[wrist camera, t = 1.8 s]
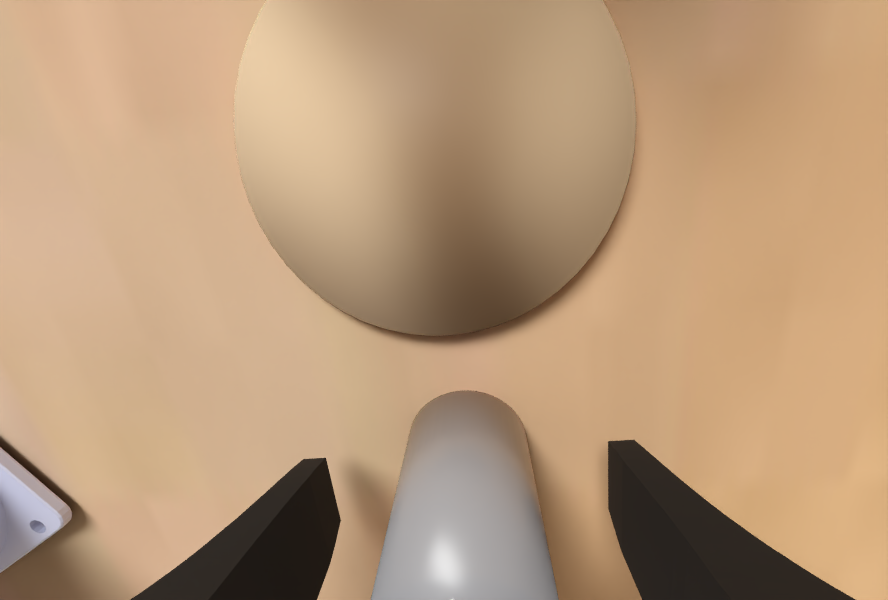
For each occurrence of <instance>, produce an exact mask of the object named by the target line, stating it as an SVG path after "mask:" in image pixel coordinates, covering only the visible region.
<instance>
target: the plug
mask: <svg viewBox="0 0 888 600" xmlns="http://www.w3.org/2000/svg"><path fill="white" fill-rule="evenodd" d="M371 600H559V599H558V594H557V589H556V584H555V579H554V574H553V569H552V564H551V559H550V554H549V549H548V544H547V539H546V534H545V529H544V524H543V519H542V514H541V509H540V504H539V499H538V494H537V488H536V483H535V478H534V473H533V468H532V463H531V458H530V453H529V448H528V443H527V438H526V433H525V430H524V426H523V424H522V422H521V420H520V418H519V417H518V415H517V414H516V413H515V412H514V410H513V409H512V408H511V407H509V406H508V405H507V404H506V403H504V402H503V401H501V400H500V399H498V398H496V397H494V396H492V395H489V394H486V393H482V392H477V391H456V392H451V393H447V394H444V395H441V396H439V397H437V398H435V399H433V400H432V401H430V402H429V403H427V404H426V405H425V406H424V407H423V408H422V409H421V410H420V411H419V413H418V414H417V415H416V417H415V419H414V421H413V423H412V426H411V429H410V434H409V438H408V442H407V447H406V451H405V455H404V459H403V464H402V468H401V472H400V477H399V481H398V485H397V489H396V494H395V498H394V502H393V507H392V511H391V515H390V519H389V524H388V528H387V532H386V537H385V541H384V545H383V549H382V554H381V558H380V562H379V567H378V571H377V575H376V579H375V584H374V588H373V592H372V597H371Z"/></svg>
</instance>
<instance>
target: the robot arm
mask: <svg viewBox="0 0 888 600" xmlns="http://www.w3.org/2000/svg"><path fill="white" fill-rule="evenodd" d="M608 507H609V512H610V515H611V519H612V522H613V525H614V529H615V532H616V535H617V538H618V541H619V544H620V548H621V551H622V553H623V556H624V558H625V560H626V563H627V565H628V567H629V570H630V572H631V574H632V577H633V579H634V581H635V584H636V586H637V588H638V591H639V593H640V595H641V597H642V600H855V599H854V598H852V597H850V596H848V595H847V594H845V593H843V592H841V591H840V590H838V589H836V588H834V587H833V586H831V585H829V584H828V583H826V582H824V581H823V580H821V579H819V578H818V577H816V576H814V575H813V574H811V573H810V572H808V571H806V570H805V569H803V568H802V567H800V566H799V565H797V564H796V563H794V562H793V561H791V560H789V559H788V558H786V557H785V556H783V555H782V554H780V553H779V552H777V551H775V550H774V549H772V548H771V547H769V546H768V545H766V544H765V543H764V542H762V541H761V540H759V539H758V538H756V537H755V536H753V535H752V534H751V533H749V532H748V531H746V530H745V529H744V528H742V527H741V526H740V525H738V524H737V523H735V522H734V521H733V520H731V519H730V518H729V517H727V516H726V515H724V514H723V513H722V512H721V511H719V510H718V509H717V508H715V507H714V506H713V505H711V504H710V503H709V502H708V501H706V500H705V499H704V498H703V497H701V496H700V495H699V494H698V493H696V492H695V491H694V490H693V489H691V488H690V487H689V486H688V485H686V484H685V483H684V482H683V481H682V480H680V479H679V478H678V477H677V476H676V475H674V474H673V473H672V472H671V471H670V470H669V469H667V468H666V467H665V466H664V465H663V464H662V463H660V462H659V461H658V460H657V459H656V458H655V457H653V456H652V455H651V454H650V453H649V452H648V451H646V450H645V449H644V448H643V447H642V446H641V445H639V444H638V443H637V442H636V441H635V440H624V441H608ZM71 519H72V512H71V509H70V507H69V506H68V505H67V504H66V503H65V502H64V501H62V500H61V499H60V498H59V497H58V496H57V495H55V494H54V493H53V492H52V491H51V490H50V489H48V488H47V487H46V486H45V485H44V484H43V483H41V482H40V481H39V480H38V479H37V478H36V477H35V476H33V475H32V474H31V473H30V472H29V471H28V470H26V469H25V468H24V467H23V466H22V465H21V464H19V463H18V462H17V461H16V460H15V459H14V458H12V457H11V456H10V455H9V454H8V453H7V452H5V451H4V450H3V449H2V448H1V447H0V573H1V572H2V571H4V570H5V569H7V568H8V567H9V566H11V565H12V564H13V563H15V562H16V561H18V560H19V559H20V558H22V557H23V556H24V555H26V554H27V553H29V552H30V551H31V550H33V549H34V548H35V547H37V546H38V545H40V544H41V543H42V542H44V541H45V540H46V539H48V538H49V537H51V536H52V535H53V534H55V533H56V532H57V531H59V530H60V529H61V528H63V527H64V526H65V525H66V524H67V523H68V522H69V521H70V520H71ZM340 521H341V520H340V515H339V511H338V507H337V503H336V499H335V494H334V490H333V486H332V482H331V478H330V474H329V469H328V465H327V461H326V458H316V459H303V460H302V461H301V462H300V463H298V464H297V465H296V466H295V467H294V468H293V469H291V470H290V471H289V472H288V473H287V474H286V475H285V476H284V477H282V478H281V479H280V480H279V481H278V482H277V483H276V484H275V485H274V486H272V487H271V488H270V489H269V490H268V491H267V492H266V493H265V494H264V495H263V496H261V497H260V498H259V499H258V500H257V501H256V502H255V503H254V504H252V505H251V506H250V507H249V508H248V509H247V510H246V511H245V512H243V513H242V514H241V515H240V516H239V517H238V518H237V519H235V520H234V521H233V522H232V523H231V524H229V525H228V526H227V527H226V528H225V529H223V530H222V531H221V532H220V533H219V534H217V535H216V536H215V537H214V538H213V539H211V540H210V541H209V542H208V543H207V544H205V545H204V546H203V547H202V548H201V549H199V550H198V551H197V552H196V553H194V554H193V555H192V556H190V557H189V558H188V559H187V560H185V561H184V562H183V563H181V564H180V565H179V566H177V567H176V568H175V569H173V570H172V571H171V572H169V573H168V574H166V575H165V576H164V577H162V578H161V579H159V580H158V581H157V582H155V583H154V584H153V585H151V586H150V587H148V588H147V589H145V590H144V591H143V592H141V593H140V594H138V595H137V596H135V597H134V598H132V599H131V600H317V598H318V595H319V592H320V590H321V587H322V584H323V581H324V579H325V576H326V573H327V570H328V568H329V565H330V562H331V558H332V554H333V551H334V547H335V543H336V538H337V534H338V530H339V525H340Z"/></svg>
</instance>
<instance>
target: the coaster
mask: <svg viewBox="0 0 888 600" xmlns="http://www.w3.org/2000/svg"><path fill="white" fill-rule="evenodd" d="M233 122H234V136H235V149H236V154H237V160H238V165H239V170H240V175H241V178H242V181H243V185H244V188H245V191H246V194H247V197H248V200H249V203H250V205H251V207H252V209H253V212H254V214H255V216H256V218H257V221H258V223H259V225H260V226H261V228H262V230H263V232H264V233H265V235H266V237H267V238H268V240H269V242H270V243H271V245H272V247H273V248H274V249H275V250H276V252H277V253H278V254H279V256H280V257H281V258H282V260H283V261H284V262H285V264H286V265H287V266H288V267H289V268H290V269H291V270H292V271H293V272H294V273H295V274H296V276H297V277H298V278H299V279H300V280H301V281H302V282H303V283H304V284H306V285H307V286H308V287H309V288H310V289H312V290H313V291H314V292H315V293H316V294H318V295H319V296H320V297H321V298H323V299H324V300H326V301H327V302H329V303H330V304H332V305H333V306H335V307H337V308H338V309H340V310H341V311H343V312H345V313H347V314H349V315H351V316H353V317H355V318H357V319H359V320H361V321H364V322H367V323H369V324H372V325H375V326H378V327H381V328H384V329H388V330H393V331H397V332H402V333H406V334H416V335H426V336H440V335H457V334H463V333H470V332H476V331H479V330H483V329H487V328H490V327H494V326H497V325H500V324H502V323H505V322H507V321H509V320H512V319H514V318H517V317H519V316H521V315H523V314H524V313H526V312H528V311H530V310H531V309H533V308H535V307H537V306H539V305H540V304H541V303H543V302H544V301H545V300H547V299H548V298H550V297H551V296H552V295H554V294H555V293H556V292H558V291H559V290H560V289H561V288H562V287H563V286H564V285H565V284H566V283H567V282H569V281H570V280H571V279H572V278H573V277H574V276H575V275H576V274H577V273H578V272H579V271H580V269H581V268H582V267H583V266H584V265H585V263H586V262H587V261H588V260H589V258H590V257H591V256H592V255H593V254H594V252H595V251H596V249H597V247H598V246H599V244H600V243H601V241H602V240H603V238H604V236H605V235H606V233H607V232H608V230H609V228H610V226H611V224H612V222H613V219H614V217H615V215H616V213H617V211H618V209H619V207H620V204H621V201H622V198H623V195H624V192H625V189H626V186H627V183H628V180H629V175H630V170H631V165H632V161H633V156H634V148H635V135H636V106H635V92H634V86H633V81H632V75H631V69H630V64H629V61H628V58H627V55H626V52H625V48H624V45H623V42H622V39H621V36H620V34H619V32H618V29H617V27H616V25H615V23H614V21H613V19H612V17H611V15H610V13H609V10H608V8H607V7H606V5H605V4H604V2H603V1H602V0H266V2H265V4H264V5H263V7H262V8H261V10H260V12H259V14H258V16H257V19H256V21H255V23H254V25H253V27H252V30H251V32H250V34H249V36H248V39H247V42H246V46H245V49H244V52H243V55H242V59H241V62H240V66H239V71H238V77H237V83H236V89H235V99H234V119H233Z"/></svg>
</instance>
